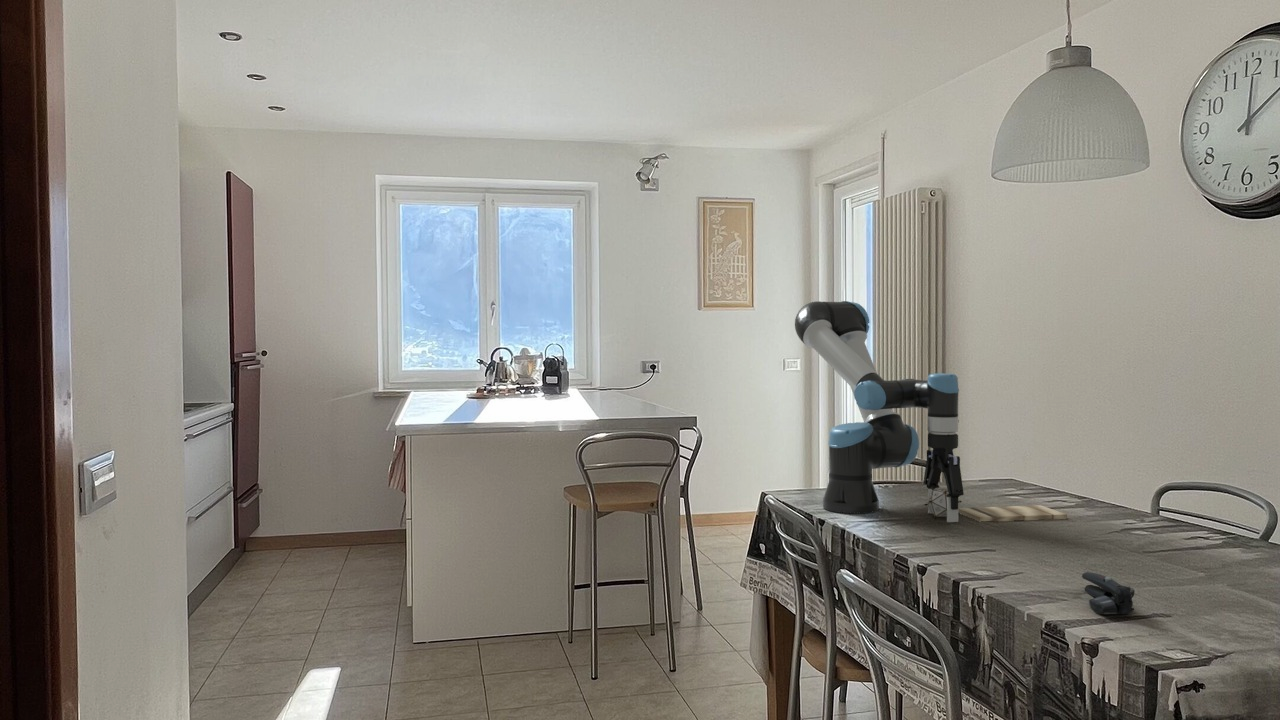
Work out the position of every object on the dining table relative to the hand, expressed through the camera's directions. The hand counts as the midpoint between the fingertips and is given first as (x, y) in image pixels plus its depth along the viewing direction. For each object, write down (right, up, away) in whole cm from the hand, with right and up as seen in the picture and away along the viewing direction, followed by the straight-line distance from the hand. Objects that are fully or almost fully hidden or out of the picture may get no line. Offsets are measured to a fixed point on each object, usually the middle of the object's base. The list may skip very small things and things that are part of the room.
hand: (942, 517), depth 227 cm
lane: (+19, 0, +2) cm, 19 cm away
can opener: (+4, -3, -72) cm, 72 cm away
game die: (0, 0, 0) cm, 0 cm away
